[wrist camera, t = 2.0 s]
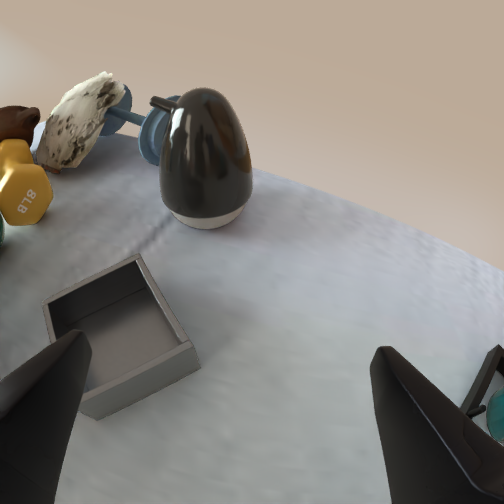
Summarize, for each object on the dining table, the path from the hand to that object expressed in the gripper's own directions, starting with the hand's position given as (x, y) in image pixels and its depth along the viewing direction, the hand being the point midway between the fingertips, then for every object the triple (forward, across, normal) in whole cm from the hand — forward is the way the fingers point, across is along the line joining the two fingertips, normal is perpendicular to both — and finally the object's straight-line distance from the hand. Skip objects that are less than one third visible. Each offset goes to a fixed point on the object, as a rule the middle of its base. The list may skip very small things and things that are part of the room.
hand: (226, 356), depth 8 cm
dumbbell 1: (+27, +37, -2) cm, 45 cm away
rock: (+36, +33, +4) cm, 49 cm away
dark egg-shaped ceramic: (+28, +5, +7) cm, 29 cm away
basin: (+11, +10, +13) cm, 20 cm away
